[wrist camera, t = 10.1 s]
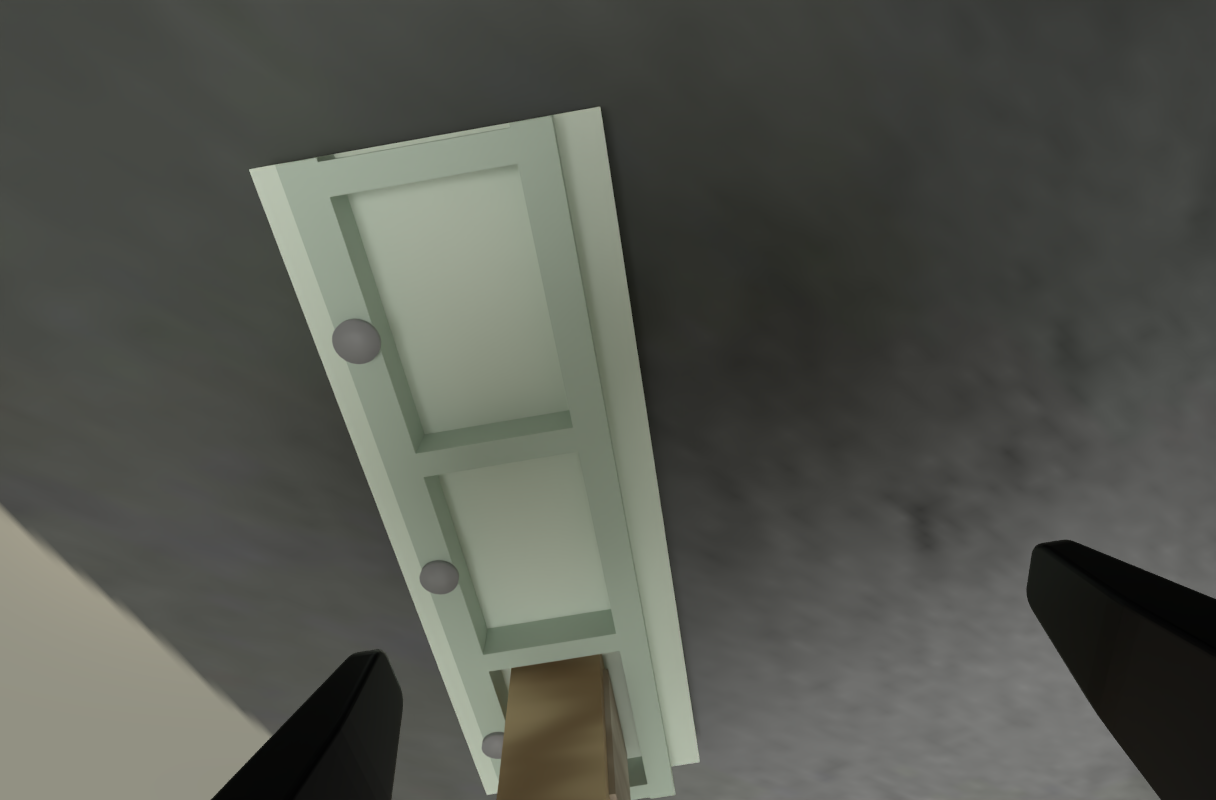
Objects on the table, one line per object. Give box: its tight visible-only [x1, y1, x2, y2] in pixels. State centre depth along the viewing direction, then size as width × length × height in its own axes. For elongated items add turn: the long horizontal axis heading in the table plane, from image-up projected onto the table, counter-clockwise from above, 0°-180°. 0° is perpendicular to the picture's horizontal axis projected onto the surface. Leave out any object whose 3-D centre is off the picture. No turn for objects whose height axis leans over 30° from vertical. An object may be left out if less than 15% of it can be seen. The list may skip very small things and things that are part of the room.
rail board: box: [249, 107, 700, 800], centre depth 21 cm, size 9×25×3 cm, turn 9°
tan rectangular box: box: [497, 654, 631, 800], centre depth 22 cm, size 3×6×6 cm, turn 9°
